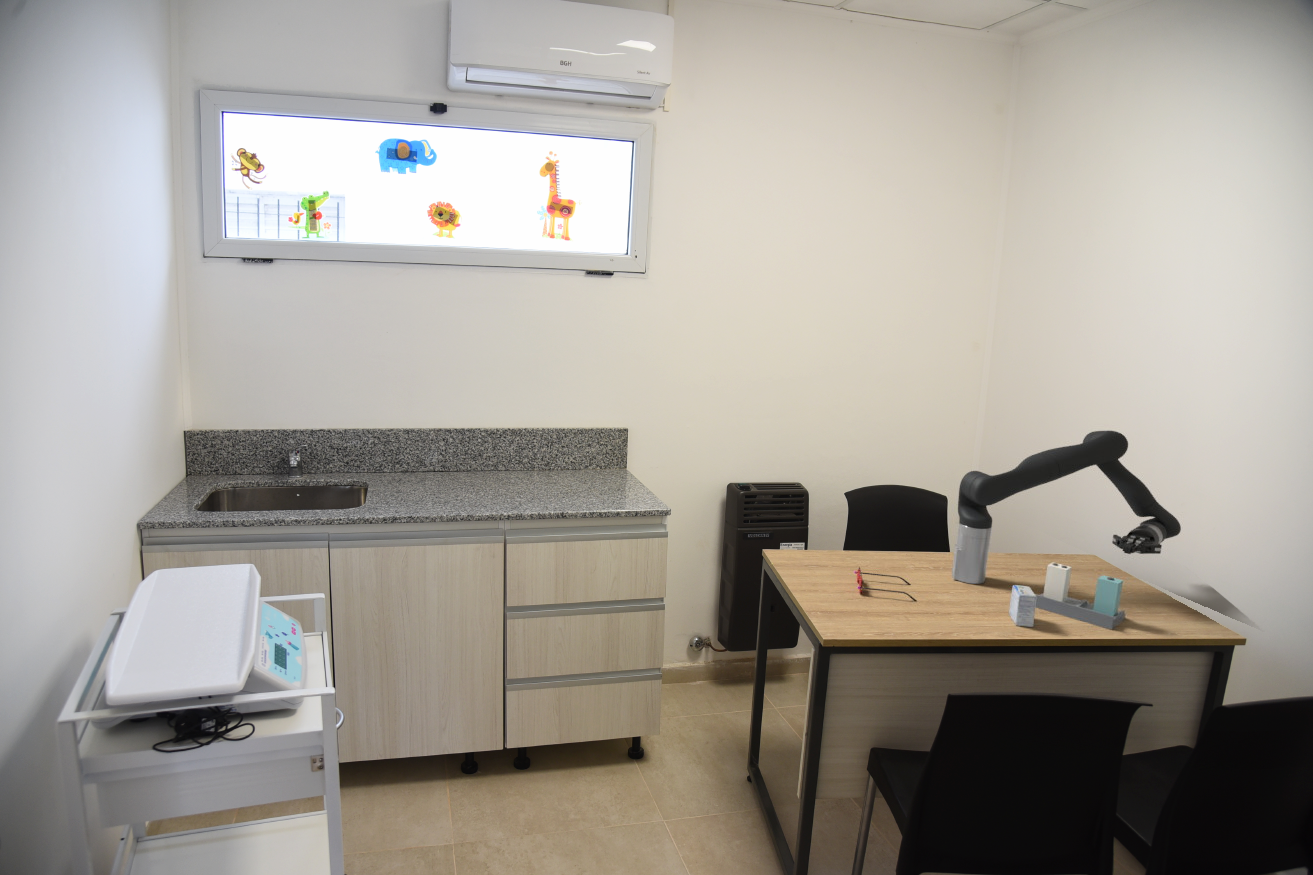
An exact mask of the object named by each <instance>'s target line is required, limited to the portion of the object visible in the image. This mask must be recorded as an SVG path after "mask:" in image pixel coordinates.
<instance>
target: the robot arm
mask: <svg viewBox="0 0 1313 875" xmlns="http://www.w3.org/2000/svg"><path fill="white" fill-rule="evenodd" d="M1128 448H1129V441H1128V439H1127V437H1126V435H1124V434H1122V433H1121V432H1118V431H1116V430H1115V431H1114V430H1097V431H1096V430H1095V431H1091V432H1089V433H1087V434H1086V435H1085V436H1084V438H1083V440H1082V443H1078V444H1073V445H1067V446H1066V445H1065V446H1061V447H1059V446H1058V447H1055V448H1050V449H1047V450H1043V451H1040V452H1037V453H1035V454H1032V455H1029V456H1028V457H1026V458H1025V459H1023V460H1022V461H1021V462H1020V463H1018V465H1017V466H1016V467H1015V468H1013V469H1011V470H1008V471H1006V472H1002V473H998V474H994V475H990V474H987V473H985V472H982V471H980V470H971V471H968V472H967V473H965V474H964V476H963V477H962V478H961V481H960V484H959V488H958V499H957V500H958V501H957V513H958V517H959V520H958V521H959V522H958V528H957V536H956V544H955V546H954V553H953V561H952V570H951V576H952V578H953V580H955V581H959V582H961V583H967V584H974V585H975V584H976V585H978V584H979V585H981V584H984V583H985V580H986V574H987V564H988V557H989V549H990V541H991V534H992V527H993V517H992V516H991V514H990V513H989V511H988V508H987V507H988V506H992V505H995V504H996V503H999V502H1001V501H1003V500H1005V499H1008V498H1010V497H1012V496H1014V495H1016V494H1018V493H1021V492H1023V491H1027V490H1029V489H1033V488H1035V487H1038V486H1041V485H1044V484H1047V483H1051V482H1053V481H1056V480H1059V479H1061V478H1064V477H1066V476H1069V475H1073V474H1075V473H1077V472H1079V471H1082V470H1085V469H1086V468H1089V467H1092V466H1096V467H1097V468H1098V469H1099V470H1100V471H1101V473H1103V474H1104V476H1106V478H1107V479H1108V480H1109V481H1110V482H1111V483H1112V484H1113V485H1114V486H1115V487H1116V490H1118V491H1119V493H1120V495H1121V496H1122V497H1123V499H1124V500H1125V502H1126V503H1127V504H1128V505H1129V507H1130V509H1131V511H1133V513H1134V515H1136V516H1137V517H1138V518H1148V517H1151V518H1149V519H1146V520H1143V521H1141V522H1140V523H1139V525H1137V527H1135V528H1133V529H1132V530H1130V531H1129V532H1128V533H1127V534H1126V535H1124V536H1122V537H1121V536H1119V535H1118V534H1113V536H1112V541H1111V542H1112V544H1113V545H1115V547H1117V548H1119V549H1121V550H1122V552H1123V553H1124V554H1128V555H1131V554H1134V553H1136V554H1141V555H1146V554H1147V555H1148V554H1149V555H1151V554H1152V555H1154V554H1156V555H1158V554H1161V553H1162V543H1163V542H1164V541H1165V540H1168V539H1170V538H1174V537H1176V536H1178V535H1179V534H1181V530H1182V526H1181V523H1180V522H1179V520H1178V519H1177V517H1175V515H1173V514H1172V513H1171V512H1170V511H1168V510H1167V509H1166V508H1165V507H1163V506H1162V505H1161V504H1160V503H1159V502H1158V501H1157V500H1156V498H1155V497H1154V495H1153V494H1152V492H1151V490H1149V488H1148V487H1147V486H1146V484H1145V483H1144V482H1143V481H1141V479H1140V478H1138V477H1137V476H1136V475H1135V474H1133V473H1132V472H1131V471H1130V470H1129V469H1128V468H1126V467H1125V465H1123V463H1122V462H1121V461H1120V460H1119V459H1121V458H1122V457H1124V455H1125V454H1126V453H1127V451H1128Z"/></svg>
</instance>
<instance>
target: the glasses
mask: <svg viewBox="0 0 1313 875" xmlns="http://www.w3.org/2000/svg"><path fill="white" fill-rule="evenodd" d="M854 574H857V575H856V582H857V583H858V586H857V589H858V590H859V595H861V593H862V590H872V591H880V592H889V593H890V592H891V593H898V594H899V593H900V594H905V595H906V596H908V597H909V598H910V599H911V600H912V601H914V602H916V603H917V602H918V600H917V599H916V598H914V597H913V596H912V595H911V594H909V593H907V592H905V591H897V590H890V589H881V588H880V589H879V588H873V587H872V588H871V587H865V586H864V587H863V575H870V576H878V577H879V576H880V577H890V578H898V579H899V580H902V581H903V582H904V583H906V584H907V585H908V586H911V584H912V583H910V582H908V581H907V580H905V579H904V578H903V577H900V576H898V575H890V574H889V575H888V574H881V573H872V572H871V573H870V572H862V570H861V567H860V566H859V567H858V569H857V570H855V571H854Z"/></svg>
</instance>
